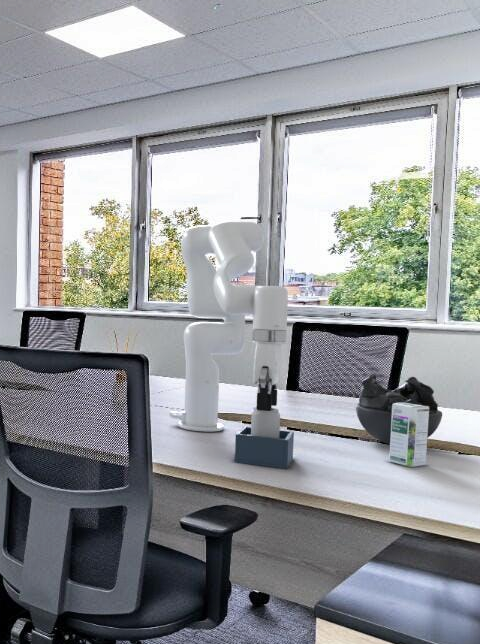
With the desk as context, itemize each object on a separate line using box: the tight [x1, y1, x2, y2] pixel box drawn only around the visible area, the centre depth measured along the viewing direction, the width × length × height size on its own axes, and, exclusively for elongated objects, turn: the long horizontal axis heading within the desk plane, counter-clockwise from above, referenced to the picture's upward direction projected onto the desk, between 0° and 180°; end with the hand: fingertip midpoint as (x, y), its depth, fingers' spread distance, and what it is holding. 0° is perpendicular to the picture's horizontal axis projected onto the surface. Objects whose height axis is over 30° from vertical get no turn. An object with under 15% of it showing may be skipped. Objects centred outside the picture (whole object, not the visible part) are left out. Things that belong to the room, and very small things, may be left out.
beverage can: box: [250, 406, 281, 438], centre depth 169 cm, size 6×6×12 cm
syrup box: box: [388, 403, 429, 468], centre depth 168 cm, size 6×6×14 cm
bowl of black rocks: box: [355, 373, 443, 445], centre depth 189 cm, size 20×20×19 cm
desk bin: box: [234, 425, 295, 470], centre depth 169 cm, size 12×12×7 cm
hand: (266, 407), depth 169 cm, fingers open, 9 cm apart
